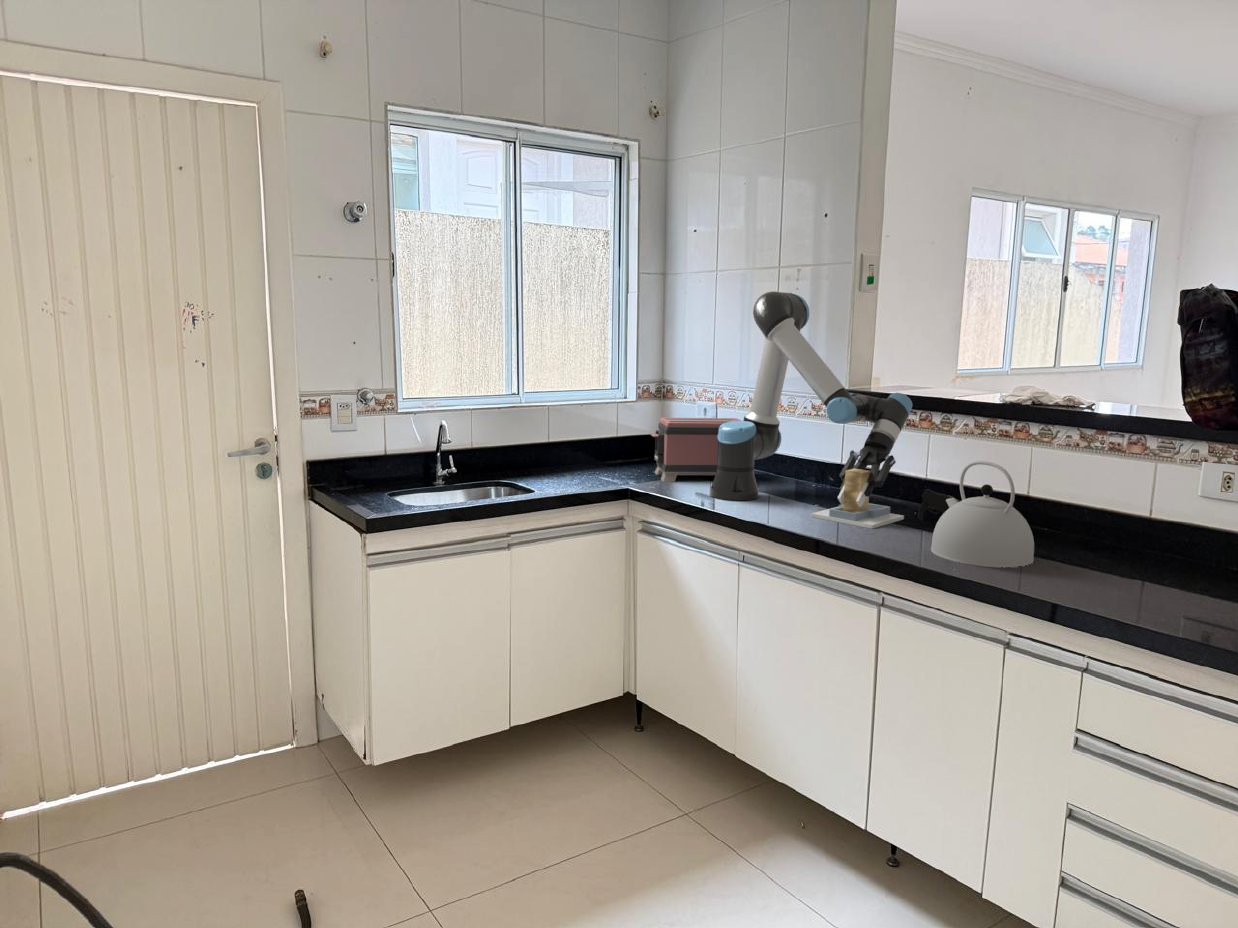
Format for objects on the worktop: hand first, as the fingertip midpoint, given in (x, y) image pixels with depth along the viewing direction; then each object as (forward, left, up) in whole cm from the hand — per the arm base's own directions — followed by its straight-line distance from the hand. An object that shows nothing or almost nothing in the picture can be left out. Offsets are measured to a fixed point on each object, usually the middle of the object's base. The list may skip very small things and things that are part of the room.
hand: (849, 502), depth 235 cm
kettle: (+39, -7, -6) cm, 40 cm away
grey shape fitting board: (0, +6, -5) cm, 8 cm away
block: (0, +4, -3) cm, 5 cm away
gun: (+19, +20, -6) cm, 28 cm away
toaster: (-74, +23, -6) cm, 77 cm away
